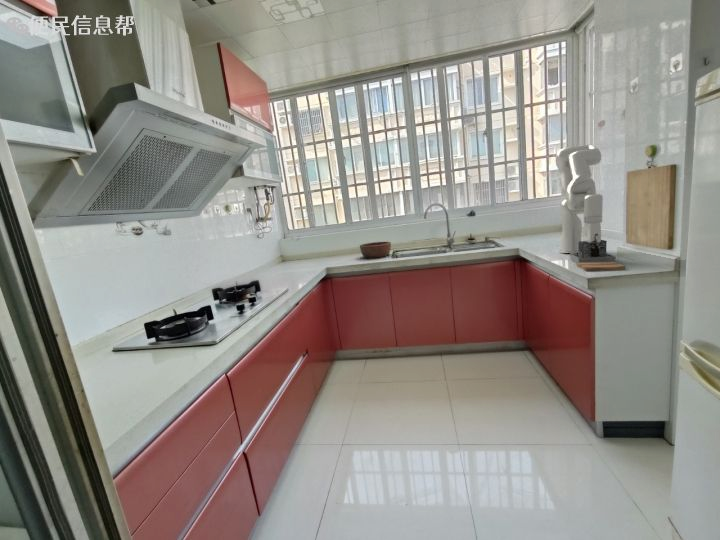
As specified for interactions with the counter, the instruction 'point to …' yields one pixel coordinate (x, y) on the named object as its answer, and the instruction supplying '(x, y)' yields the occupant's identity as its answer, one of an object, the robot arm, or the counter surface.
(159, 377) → the counter surface
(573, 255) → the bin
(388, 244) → the wooden bowl
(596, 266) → the walnut board
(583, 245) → the small box
